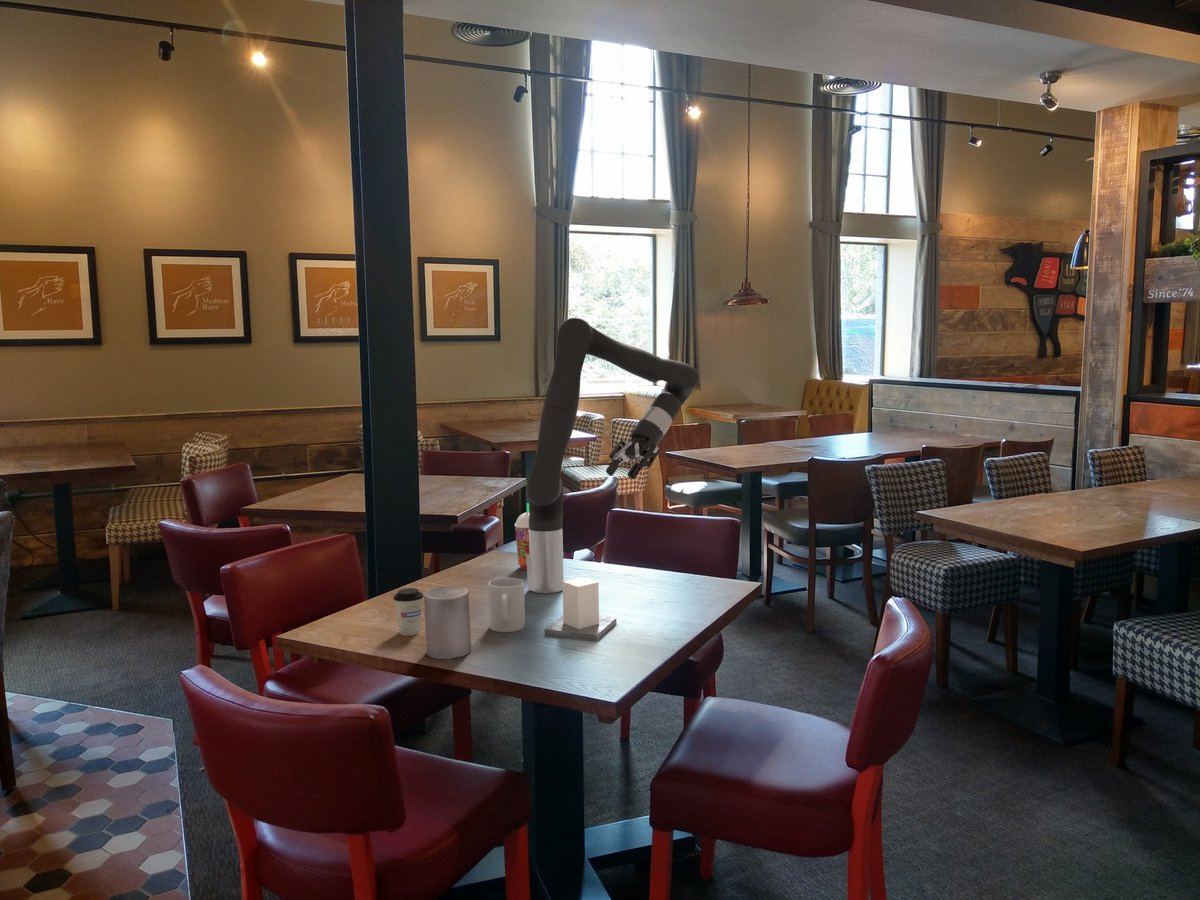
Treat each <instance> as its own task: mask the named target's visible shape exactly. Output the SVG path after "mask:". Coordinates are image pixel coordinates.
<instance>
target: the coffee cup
mask: <svg viewBox="0 0 1200 900" xmlns="http://www.w3.org/2000/svg"><path fill="white" fill-rule="evenodd" d="M423 598H424V593H423V592H421V591H419V589H418V588H414V587H408V588H407V587H406V588H402V589H399V590H398V591H397V593H396V594H395V595H393V600H394V605H395V609H396V610H395V611H396V616H397V617H396V618H397V623H398V628H399V634H401V635H402V636H414V635H417V634H420V633H421V623H422V622H421V621H422V611H423V610H422V608H423Z"/></svg>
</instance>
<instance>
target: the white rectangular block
mask: <svg viewBox="0 0 1200 900" xmlns="http://www.w3.org/2000/svg"><path fill="white" fill-rule="evenodd" d="M562 583H563V590H562V614H563V615H562V616H563V623H565V624H567V625H570V626H572V627H575V628H577V629H581V628H585V627H589V626H592V625H596V624H599V616H600V605H599V604H600V601H599V600H600V599H599V591H600V590H599V581H596V580H593V579H591V578H590V579H589V578H586V577H578V578H571V579H569V580H564V582H562Z"/></svg>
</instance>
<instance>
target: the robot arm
mask: <svg viewBox="0 0 1200 900" xmlns="http://www.w3.org/2000/svg"><path fill="white" fill-rule="evenodd" d="M556 342H557V343H556V352H555V353H556V354H555V360H554V367H553V371H552V374H551V377H550V380H549V383H548V386H547V390H546V393H545V397H544V400H543V401H544V402H543V406H542V411H541V416H540V421H539V422H540V423H539V427H538V428H539V430H538V436H537V448H536V453H535V458H534V461H533V465H532V468H531V471H530V475H529V476H528V477H529V478H528V480H527V482H526V488H525V489H526V494H527V498H528V499H529V512H530V513H529V549H530V555H529V556H527V570H526V575H527V577H526V578H527V591H531V592H533V593H537V594H553V593H558V592H563V583H562V582H564V581H565V580H564V575H565V574H564V546H563V545H564V544H563V543H564V542H563V539H564V538H563V517H564V501H563V500H564V494H563V492H564V491H563V489H564V488H563V482H562V479H561V473H562V465H563V460H564V457H565V453H566V451H567V448H568V446H569V443H570V440H571V437H572V434H573V430H574V428H575V427H574V426H575V424H576V419H577V414H578V409H579V404H580V403H579V402H580V394H581V377H582V371H583V367H584V362H585V360H586V356H587V355H589V356H593V357H595V358H598V359H601V360H603V361H606V362H608V363H610V364H613V365H614V366H616V367H618V368H620V369H622V370H624V371H625V372H628V373H630V374H631V375H634V376H637V377H638V378H641V379H643V380H646V381H648V382H650V383H658V382H660V381H663V382H667V383H666V384H665V386H664V387H663V389H662V391H660V392H661V393H659V394H658V395H657V397H655V399H654V400H653V402H652V403H651V405H650V406H649V408H648V409H647V410H646V411H645V412H644V413H643V415H642V416H641V418H640V419H639V420H638V422H637V423H636V424H635V426H634V427H633V429H632V430H631V433H630V439H629V441H628V442H625V440H623V439H621V440H619V442H618V443H617V444H616V446H615V447H614V448H613V450H612V451H611V452H610V454H609V455H608V457H609V459H610V460H611V462H609V465H608V466H607V467H606V470H605V472H606V474H607V475H608V476H609V477H613V476H614V474H615V473H616V471H617V469H618V468H619V466H620V465H621V464H623V463H624V462H625V463H627V462H629V461H630V460H632V461H633V460H635V463H633V465H632V466H631V467H630V468H629V471H628V472H627V476H628V478H629V479H630V480H635V479H636V477H638V475H639V473H640V472H641V470H643V469H645V468H646V467H647V468H651V466H652V465H653V463H654V462H655V460H656V458H657V456H658V455H659V453H660V452H661V450H660V448H659V446H658V445H659V443H660V442H661V441H662V439H663V437H664V436H665V434H667V432H668V431H669V429H670V426H671V424H672V423H673V421H674V420H675V418H676V417H677V415H678V413H679V412H680V410H681V407H682V406H683V404H684V403H685V402H686V400H687V399H688V398H689V397H690V395H691V394H692V392H693V391H694V389H695V388H696V387H697V385H698V384H699V381H700V375H699V372H698V371H697V369H696V368H695V367H693V366H692V365H690V364H688V363H686V362H683V361H678V360H673V359H669V358H663V357H660V356H658V355H656V354H653V353H652V352H649V351H648V350H647V351H646V350H644V349H642V348H639V347H637V346H634V345H631V344H627V343H625V342H621V341H619V340H617V339H615V338H613V337H610V336H609V335H606V334H604V333H603V332H601V331H600V330H598V329H596V328H594V327H593V326H592V325H591V324H590V323H588V321H586V320H585V319H583V318H581V317H577V316H575V317H574V316H573V317H569V318H567V319H565V320H564V321H563V322H561V324H560V325H559V328H558V330H557V340H556Z"/></svg>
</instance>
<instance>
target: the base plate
mask: <svg viewBox="0 0 1200 900" xmlns="http://www.w3.org/2000/svg"><path fill="white" fill-rule="evenodd" d="M616 625H617V617H611V616H601V615H599V624H596V625H592V626H589V627H585V628H581V629H577V628H575V627H572V626H570V625H567V624H565V623H563V615H561V616H560V617H559V618H557V619H556V620H555V621H554V622H552V623H550V625H548V626H547V627H546V628H544V629H543V630H544V631H543V632H544V633H543V634H544V636H546V637H555V638H564V639H574V640H582V641H583V640H584V641H591V642H598V641H599V640H601V638H602V637H604V635H606V634H607V633H608V632H609V631H610V630H611V629H613V628H614V627H615V626H616Z"/></svg>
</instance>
